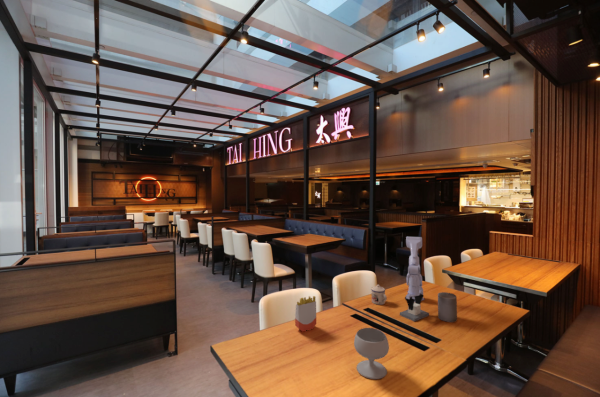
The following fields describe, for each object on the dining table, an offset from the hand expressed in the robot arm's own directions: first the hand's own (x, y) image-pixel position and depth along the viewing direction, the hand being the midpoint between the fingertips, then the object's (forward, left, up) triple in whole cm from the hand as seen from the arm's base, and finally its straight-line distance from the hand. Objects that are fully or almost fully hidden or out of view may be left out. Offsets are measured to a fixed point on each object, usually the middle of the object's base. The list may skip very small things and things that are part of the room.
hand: (414, 307), depth 164 cm
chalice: (+59, +22, -5) cm, 63 cm away
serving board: (0, 0, -4) cm, 4 cm away
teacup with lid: (+3, -24, -5) cm, 25 cm away
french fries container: (+63, -22, -5) cm, 67 cm away
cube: (0, 0, -3) cm, 3 cm away
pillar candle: (-12, +13, -5) cm, 18 cm away
